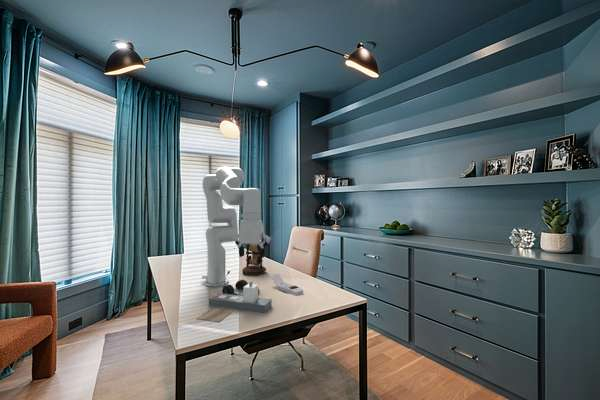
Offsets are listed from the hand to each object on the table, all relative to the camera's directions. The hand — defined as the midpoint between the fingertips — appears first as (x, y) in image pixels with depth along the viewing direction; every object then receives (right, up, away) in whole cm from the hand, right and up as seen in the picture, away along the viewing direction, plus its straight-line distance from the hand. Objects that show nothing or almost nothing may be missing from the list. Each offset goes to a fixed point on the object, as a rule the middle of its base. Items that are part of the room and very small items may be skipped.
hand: (252, 256), depth 115 cm
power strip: (-5, -22, 0) cm, 22 cm away
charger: (0, -21, -1) cm, 21 cm away
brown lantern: (-8, -22, +55) cm, 60 cm away
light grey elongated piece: (+14, -22, +23) cm, 35 cm away
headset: (-8, -22, +16) cm, 29 cm away
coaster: (-13, -22, -9) cm, 27 cm away
